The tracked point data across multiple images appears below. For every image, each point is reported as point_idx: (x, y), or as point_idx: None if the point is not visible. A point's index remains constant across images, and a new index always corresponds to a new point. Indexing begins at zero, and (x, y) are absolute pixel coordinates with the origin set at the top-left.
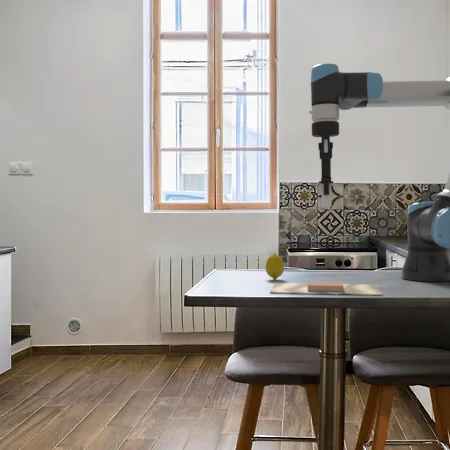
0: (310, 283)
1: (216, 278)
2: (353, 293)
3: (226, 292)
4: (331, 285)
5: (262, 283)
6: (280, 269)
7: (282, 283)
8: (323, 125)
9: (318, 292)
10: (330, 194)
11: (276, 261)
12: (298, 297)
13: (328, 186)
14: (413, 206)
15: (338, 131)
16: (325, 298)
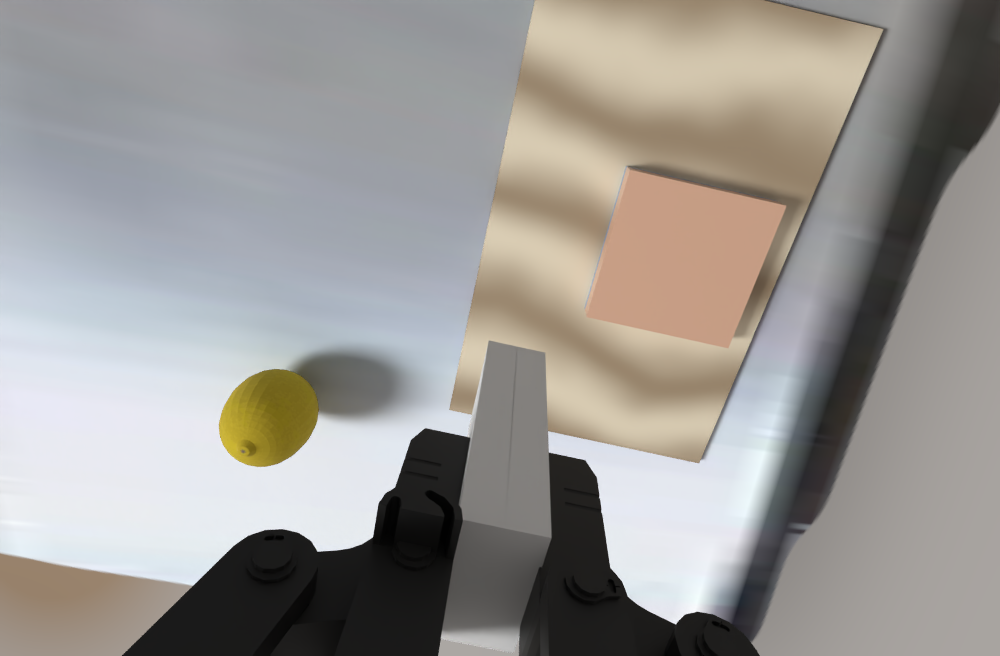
0: (670, 325)
1: None
2: (822, 165)
3: (640, 574)
4: (757, 254)
5: None
6: (308, 392)
7: (465, 386)
8: None
9: (756, 303)
10: (547, 438)
11: (297, 430)
12: (813, 385)
13: (605, 548)
14: None
15: None
16: (868, 299)
